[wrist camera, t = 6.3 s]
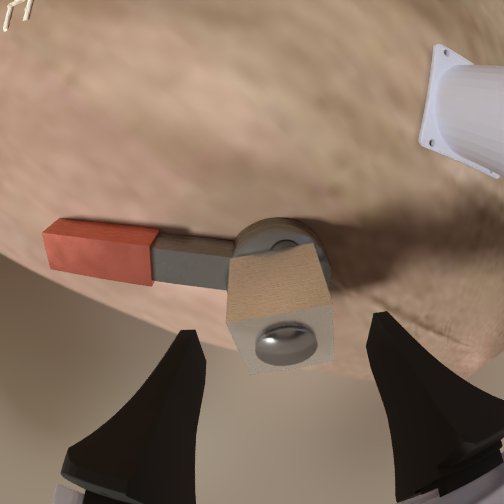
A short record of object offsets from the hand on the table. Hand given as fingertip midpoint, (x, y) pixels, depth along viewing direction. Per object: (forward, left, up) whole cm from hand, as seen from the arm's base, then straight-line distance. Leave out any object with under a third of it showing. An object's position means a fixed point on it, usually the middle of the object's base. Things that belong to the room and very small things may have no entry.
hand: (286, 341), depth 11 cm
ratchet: (+6, +2, -10) cm, 12 cm away
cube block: (-1, +2, -7) cm, 7 cm away
